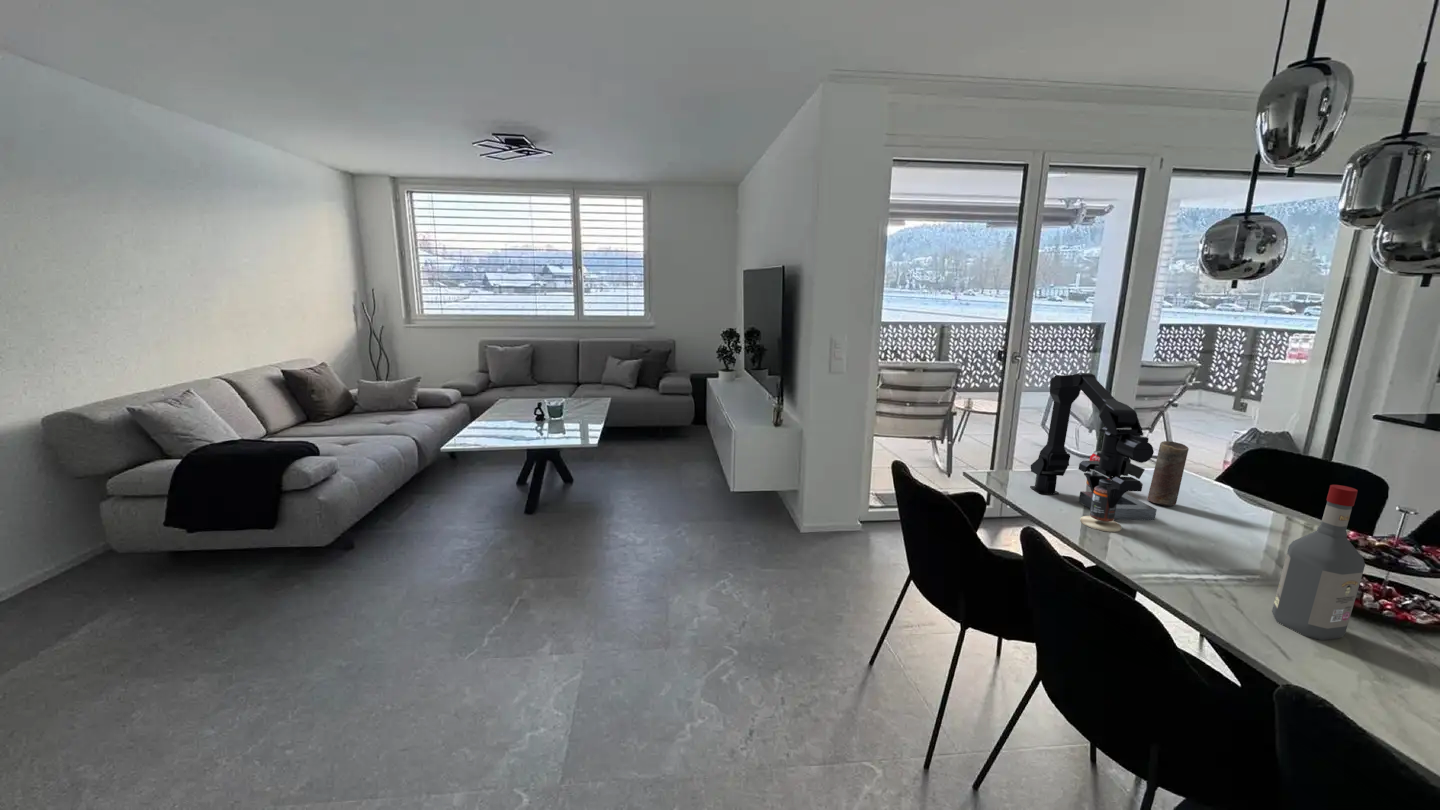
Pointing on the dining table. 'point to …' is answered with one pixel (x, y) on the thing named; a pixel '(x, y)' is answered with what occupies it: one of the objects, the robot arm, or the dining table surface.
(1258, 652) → the dining table surface
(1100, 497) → the supplement bottle
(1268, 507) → the dining table surface
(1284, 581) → the grey bottle
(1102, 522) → the coaster pad
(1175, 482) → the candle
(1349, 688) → the dining table surface
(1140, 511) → the socket plate
